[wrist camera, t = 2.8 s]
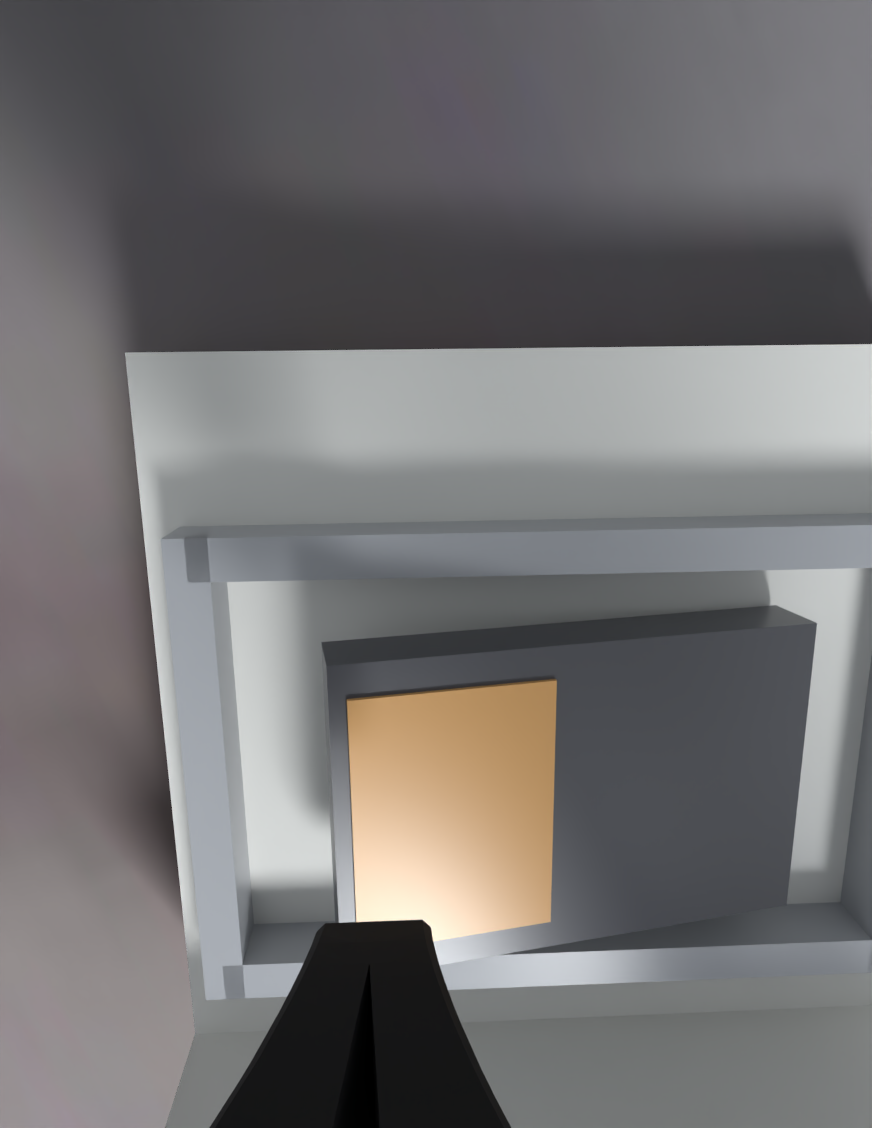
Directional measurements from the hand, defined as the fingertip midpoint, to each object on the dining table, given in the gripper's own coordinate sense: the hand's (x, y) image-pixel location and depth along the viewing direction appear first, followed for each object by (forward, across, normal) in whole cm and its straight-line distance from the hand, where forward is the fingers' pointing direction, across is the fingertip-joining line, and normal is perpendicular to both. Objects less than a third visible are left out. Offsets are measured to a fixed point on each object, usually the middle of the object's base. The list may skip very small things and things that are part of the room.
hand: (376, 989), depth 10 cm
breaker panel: (+9, -4, 0) cm, 10 cm away
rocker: (+5, -4, 0) cm, 6 cm away
